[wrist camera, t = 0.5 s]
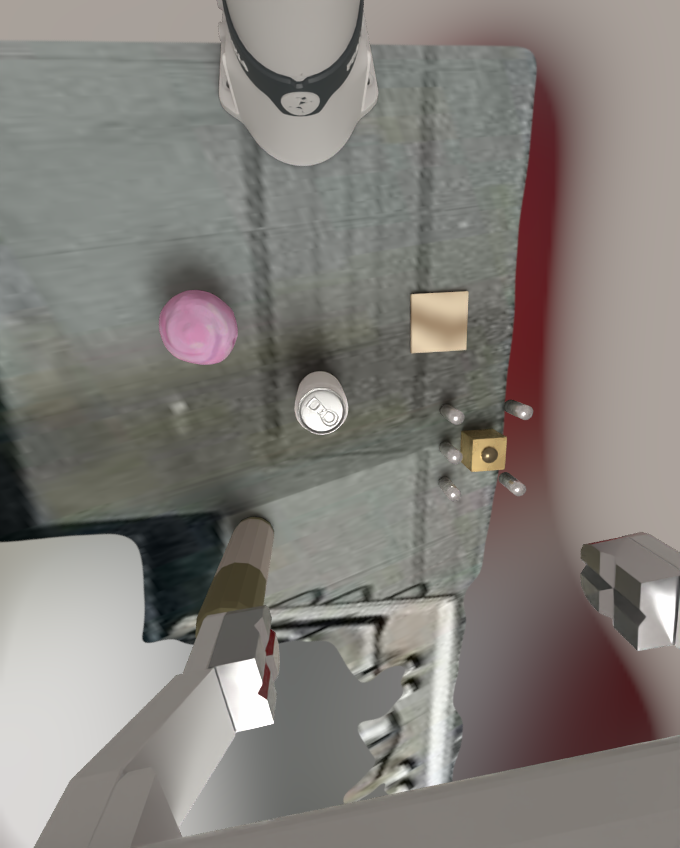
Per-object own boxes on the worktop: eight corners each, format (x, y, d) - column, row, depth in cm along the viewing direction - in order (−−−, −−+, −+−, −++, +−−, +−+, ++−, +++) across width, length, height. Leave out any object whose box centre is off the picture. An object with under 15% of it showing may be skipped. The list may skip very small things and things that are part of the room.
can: (321, 422, 55) (323, 449, 43) (288, 394, 53) (281, 413, 42) (351, 391, 54) (361, 409, 42) (318, 361, 52) (319, 371, 41)
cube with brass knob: (461, 430, 57) (473, 440, 52) (492, 428, 57) (507, 437, 52) (459, 460, 58) (472, 472, 54) (490, 458, 58) (505, 470, 54)
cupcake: (176, 351, 51) (144, 358, 41) (184, 287, 49) (152, 278, 39) (241, 365, 52) (224, 375, 42) (251, 303, 50) (236, 298, 40)
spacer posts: (439, 404, 55) (450, 411, 51) (516, 399, 56) (533, 405, 52) (438, 488, 59) (448, 501, 55) (510, 483, 60) (525, 495, 55)
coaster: (410, 294, 51) (411, 294, 50) (466, 291, 51) (468, 291, 51) (410, 352, 53) (411, 353, 52) (464, 349, 53) (466, 349, 53)
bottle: (237, 553, 60) (166, 768, 31) (228, 515, 58) (143, 706, 29) (280, 547, 60) (249, 754, 31) (272, 509, 58) (232, 692, 29)
